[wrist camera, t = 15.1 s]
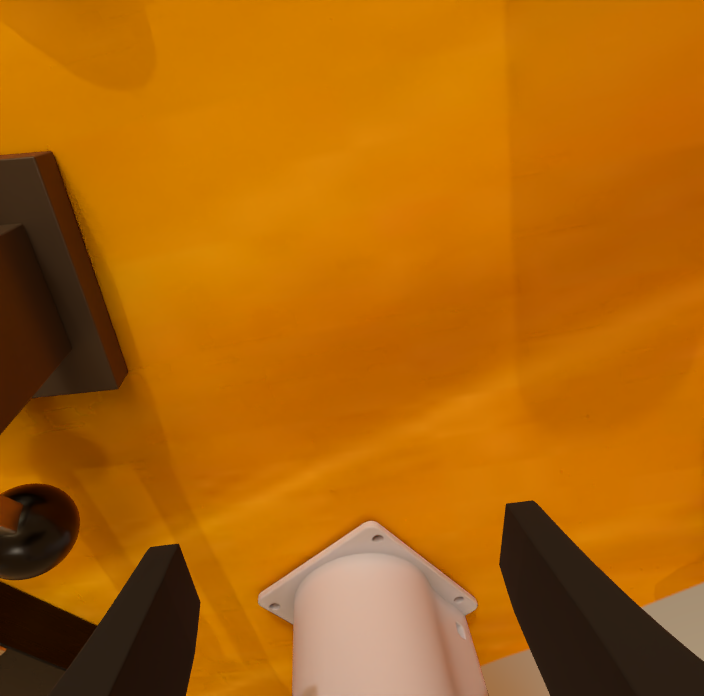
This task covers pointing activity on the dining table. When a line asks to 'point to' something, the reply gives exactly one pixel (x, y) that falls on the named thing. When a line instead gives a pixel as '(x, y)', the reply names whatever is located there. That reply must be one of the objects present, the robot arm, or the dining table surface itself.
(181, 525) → the dining table surface
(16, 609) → the plate
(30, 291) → the lever bracket
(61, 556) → the door lever
